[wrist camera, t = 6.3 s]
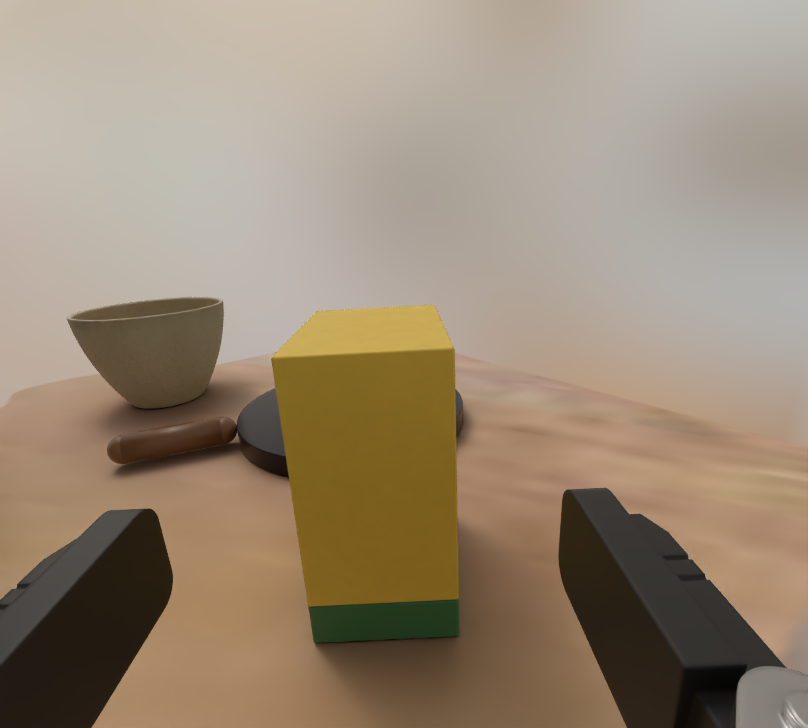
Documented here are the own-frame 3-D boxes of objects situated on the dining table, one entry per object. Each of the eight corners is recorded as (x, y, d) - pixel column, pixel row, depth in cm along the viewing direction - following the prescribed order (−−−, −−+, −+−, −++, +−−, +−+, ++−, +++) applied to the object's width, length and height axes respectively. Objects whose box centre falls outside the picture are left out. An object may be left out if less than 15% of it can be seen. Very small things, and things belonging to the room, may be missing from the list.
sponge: (313, 644, 13) (270, 357, 10) (339, 517, 19) (315, 310, 16) (459, 637, 13) (454, 347, 10) (441, 512, 19) (435, 304, 16)
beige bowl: (243, 404, 32) (226, 307, 30) (80, 436, 28) (46, 327, 26) (233, 368, 41) (219, 291, 38) (107, 389, 37) (84, 305, 35)
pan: (69, 551, 18) (56, 513, 17) (137, 419, 30) (131, 395, 30) (507, 444, 24) (508, 414, 24) (414, 372, 37) (413, 352, 36)
